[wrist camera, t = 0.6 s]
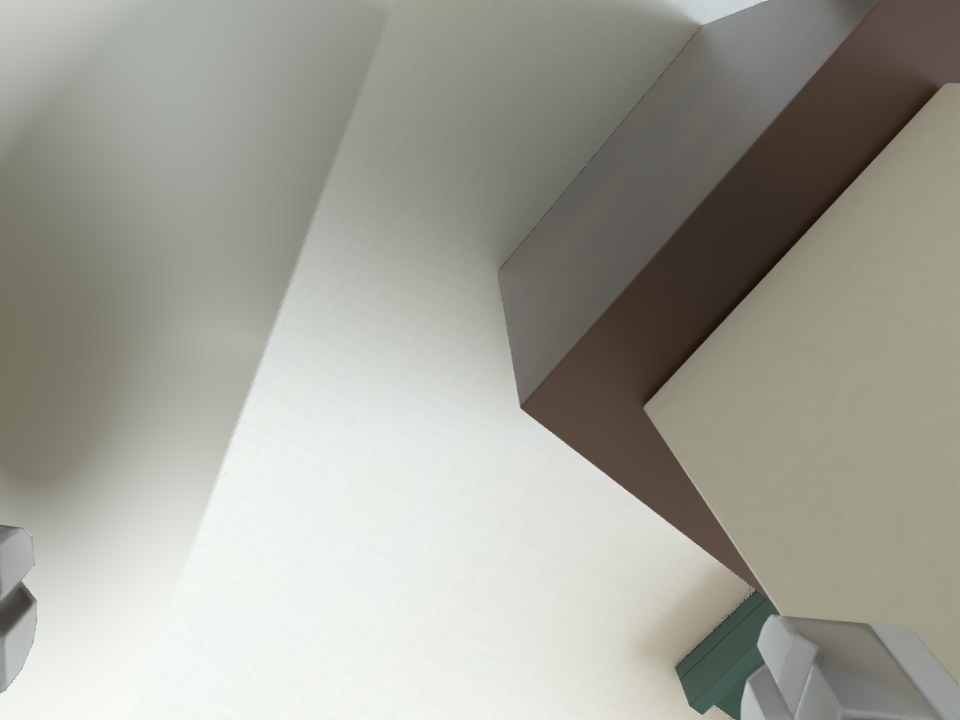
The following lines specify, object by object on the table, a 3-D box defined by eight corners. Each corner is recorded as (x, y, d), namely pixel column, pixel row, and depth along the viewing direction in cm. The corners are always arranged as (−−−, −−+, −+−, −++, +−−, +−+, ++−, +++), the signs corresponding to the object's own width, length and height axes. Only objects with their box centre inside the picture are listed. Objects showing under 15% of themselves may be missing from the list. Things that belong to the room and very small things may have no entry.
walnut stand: (703, 24, 34) (1430, -259, 8) (918, 229, 37) (1968, 498, 11) (497, 272, 37) (555, 630, 11) (709, 443, 40) (1144, 1045, 14)
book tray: (888, 464, 40) (1036, 587, 30) (1060, 610, 43) (1250, 771, 33) (674, 667, 44) (738, 841, 33) (845, 791, 47) (954, 987, 36)
